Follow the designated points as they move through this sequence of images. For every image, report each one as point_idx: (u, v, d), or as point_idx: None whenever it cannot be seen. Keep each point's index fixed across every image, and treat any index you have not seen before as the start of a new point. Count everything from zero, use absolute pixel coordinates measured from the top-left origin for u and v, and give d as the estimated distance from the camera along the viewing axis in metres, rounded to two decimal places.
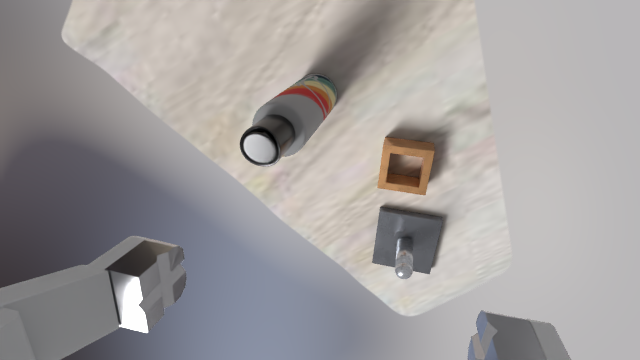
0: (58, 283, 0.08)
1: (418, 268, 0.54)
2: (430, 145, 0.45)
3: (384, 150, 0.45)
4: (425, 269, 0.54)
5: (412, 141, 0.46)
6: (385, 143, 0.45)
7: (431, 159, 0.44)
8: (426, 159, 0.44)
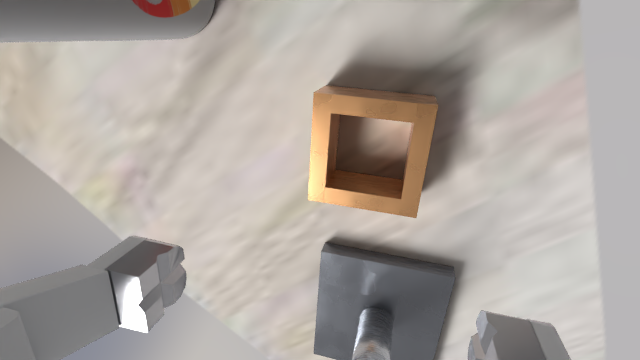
0: (58, 283, 0.08)
1: None
2: (426, 98, 0.19)
3: (317, 107, 0.19)
4: None
5: (385, 92, 0.20)
6: (320, 91, 0.19)
7: (430, 127, 0.18)
8: (418, 127, 0.18)
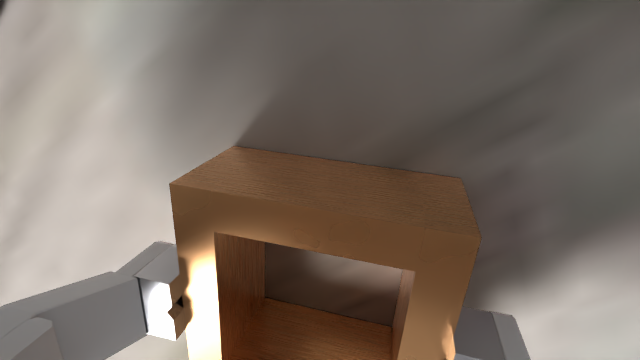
0: (89, 291, 0.08)
1: None
2: (444, 193, 0.08)
3: (182, 216, 0.08)
4: None
5: (352, 168, 0.09)
6: (193, 176, 0.08)
7: (457, 285, 0.07)
8: (425, 283, 0.07)
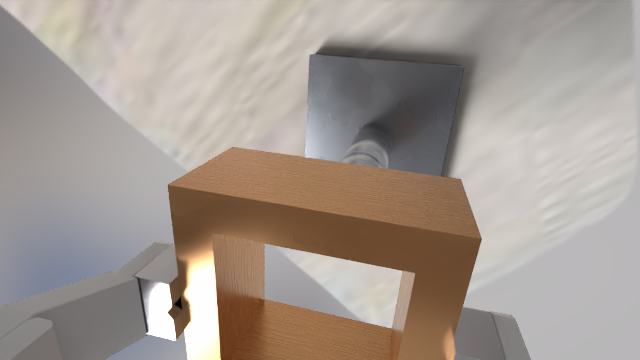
0: (89, 291, 0.08)
1: None
2: (444, 194, 0.08)
3: (180, 217, 0.08)
4: None
5: (351, 169, 0.09)
6: (192, 177, 0.08)
7: (457, 287, 0.07)
8: (424, 284, 0.07)
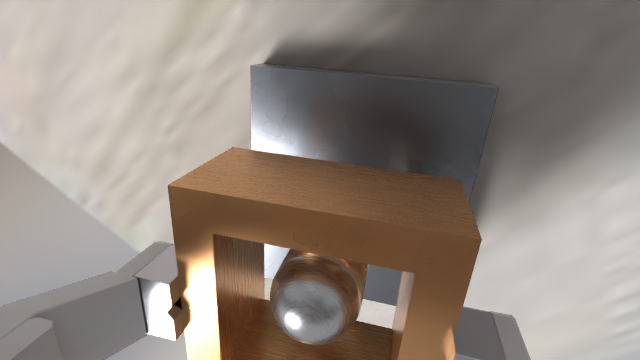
0: (89, 291, 0.08)
1: None
2: (444, 194, 0.08)
3: (180, 217, 0.08)
4: None
5: (351, 170, 0.09)
6: (192, 177, 0.08)
7: (457, 287, 0.07)
8: (424, 285, 0.07)
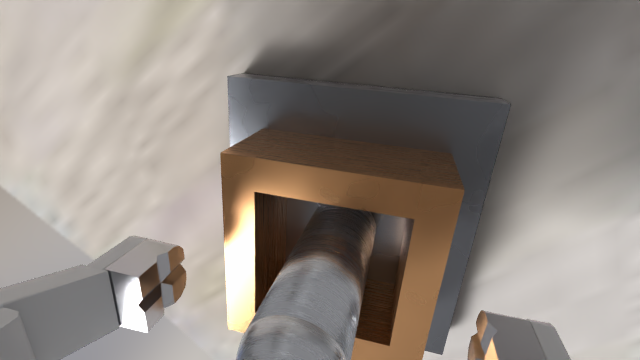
0: (58, 283, 0.08)
1: None
2: (437, 163, 0.10)
3: (229, 179, 0.10)
4: None
5: (363, 145, 0.11)
6: (237, 148, 0.10)
7: (447, 229, 0.09)
8: (422, 228, 0.09)
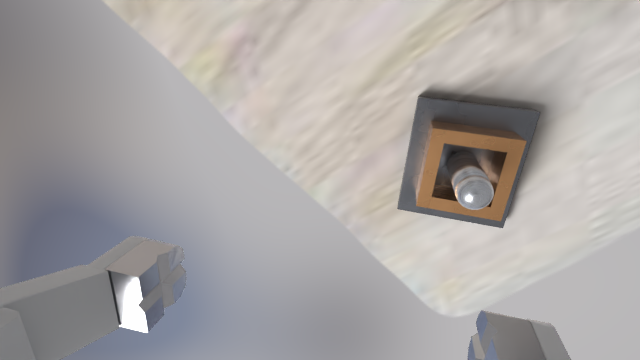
0: (58, 283, 0.08)
1: None
2: (512, 134, 0.26)
3: (434, 138, 0.26)
4: None
5: (478, 128, 0.27)
6: (435, 127, 0.26)
7: (519, 155, 0.25)
8: (509, 155, 0.25)
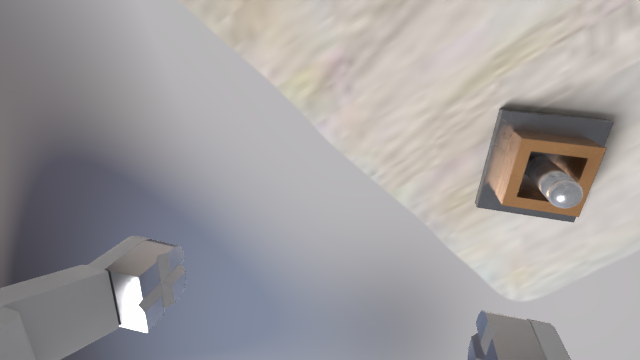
0: (58, 283, 0.08)
1: None
2: (589, 141, 0.30)
3: (522, 147, 0.30)
4: None
5: (557, 136, 0.31)
6: (522, 137, 0.30)
7: (598, 161, 0.29)
8: (590, 161, 0.29)
